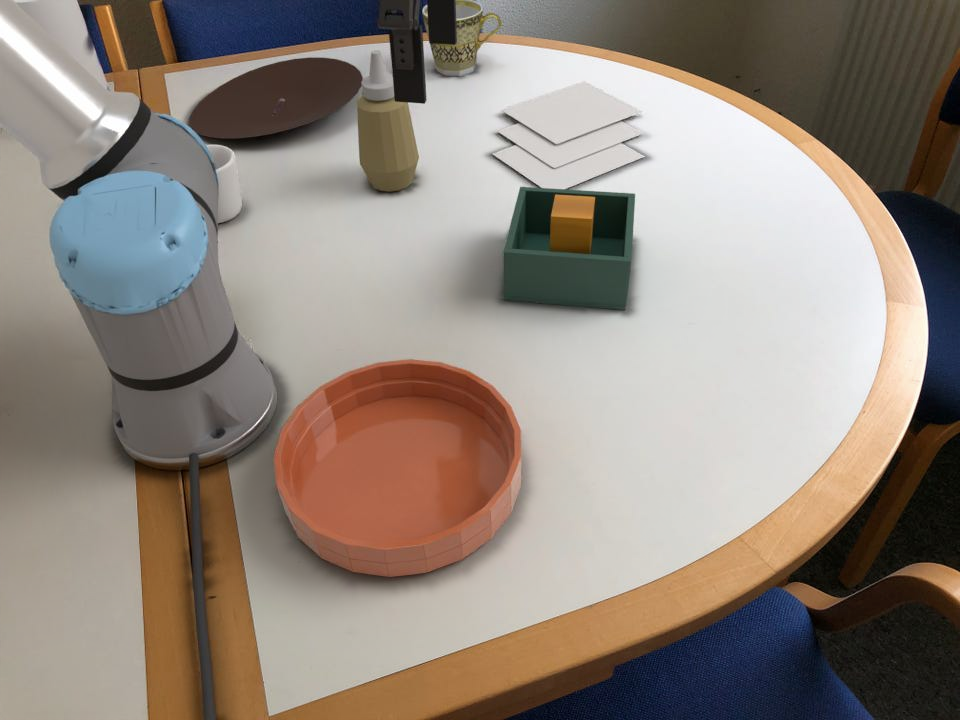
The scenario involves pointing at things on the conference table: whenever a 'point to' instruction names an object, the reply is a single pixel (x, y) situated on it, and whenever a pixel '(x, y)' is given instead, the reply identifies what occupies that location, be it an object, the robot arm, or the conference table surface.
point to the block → (572, 224)
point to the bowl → (399, 467)
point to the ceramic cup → (461, 39)
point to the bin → (569, 274)
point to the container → (66, 31)
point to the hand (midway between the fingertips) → (427, 70)
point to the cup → (226, 182)
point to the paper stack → (569, 136)
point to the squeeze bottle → (385, 131)
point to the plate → (276, 98)
